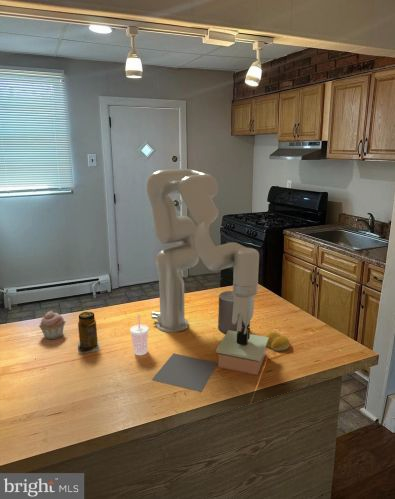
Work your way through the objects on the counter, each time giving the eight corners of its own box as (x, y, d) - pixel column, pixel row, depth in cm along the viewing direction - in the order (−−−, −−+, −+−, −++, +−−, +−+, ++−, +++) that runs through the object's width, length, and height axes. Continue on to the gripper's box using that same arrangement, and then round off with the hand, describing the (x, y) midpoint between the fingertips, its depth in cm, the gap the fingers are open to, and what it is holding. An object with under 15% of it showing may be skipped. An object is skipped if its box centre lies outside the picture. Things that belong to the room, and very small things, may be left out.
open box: (218, 368, 119) (218, 354, 118) (229, 348, 130) (229, 335, 129) (257, 376, 115) (258, 362, 113) (265, 355, 126) (266, 342, 125)
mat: (151, 381, 112) (151, 379, 112) (173, 354, 127) (173, 353, 127) (201, 393, 107) (201, 392, 107) (218, 363, 121) (218, 362, 121)
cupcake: (72, 334, 140) (69, 309, 138) (49, 344, 133) (47, 318, 130) (57, 327, 146) (54, 303, 143) (35, 336, 138) (32, 311, 136)
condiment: (98, 339, 137) (95, 309, 133) (100, 350, 129) (98, 319, 126) (77, 342, 134) (74, 311, 131) (78, 354, 127) (75, 322, 123)
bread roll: (280, 354, 127) (281, 343, 126) (259, 344, 134) (260, 334, 133) (294, 346, 133) (295, 335, 132) (274, 336, 139) (274, 326, 138)
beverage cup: (147, 346, 132) (146, 310, 128) (151, 355, 126) (149, 317, 122) (130, 349, 130) (128, 312, 126) (132, 358, 124) (130, 320, 120)
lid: (215, 352, 117) (216, 335, 116) (228, 332, 130) (228, 316, 128) (260, 361, 112) (261, 344, 111) (268, 339, 125) (269, 323, 123)
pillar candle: (217, 322, 150) (218, 287, 146) (242, 322, 149) (243, 287, 145) (218, 334, 140) (218, 297, 136) (244, 334, 140) (245, 297, 136)
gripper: (240, 277, 124) (238, 328, 129) (226, 295, 110) (224, 351, 115) (262, 280, 122) (259, 331, 127) (251, 299, 107) (248, 356, 112)
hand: (243, 340), depth 121 cm, fingers closed on lid, 3 cm apart
